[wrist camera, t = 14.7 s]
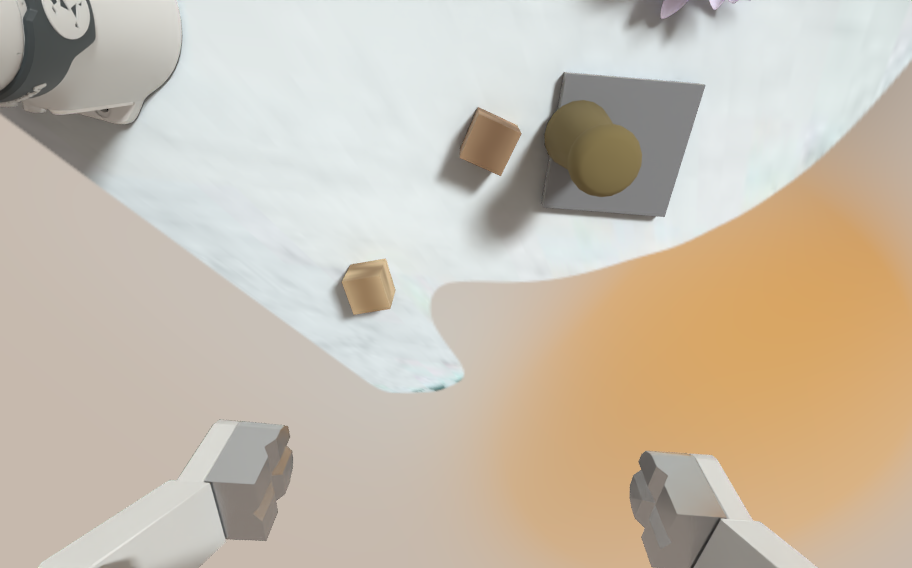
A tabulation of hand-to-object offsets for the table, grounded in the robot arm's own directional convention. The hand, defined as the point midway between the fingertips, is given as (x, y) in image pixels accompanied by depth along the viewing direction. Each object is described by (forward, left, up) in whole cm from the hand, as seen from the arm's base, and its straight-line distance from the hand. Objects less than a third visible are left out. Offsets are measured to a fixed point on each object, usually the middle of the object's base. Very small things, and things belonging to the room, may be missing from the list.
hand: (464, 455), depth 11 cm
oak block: (-9, -16, -37) cm, 42 cm away
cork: (+10, +1, -36) cm, 37 cm away
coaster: (+14, 0, -37) cm, 40 cm away
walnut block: (+2, 0, -37) cm, 37 cm away
